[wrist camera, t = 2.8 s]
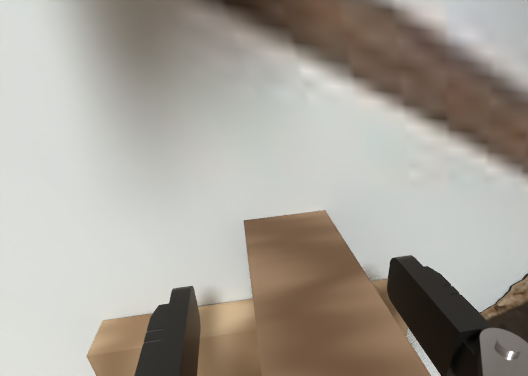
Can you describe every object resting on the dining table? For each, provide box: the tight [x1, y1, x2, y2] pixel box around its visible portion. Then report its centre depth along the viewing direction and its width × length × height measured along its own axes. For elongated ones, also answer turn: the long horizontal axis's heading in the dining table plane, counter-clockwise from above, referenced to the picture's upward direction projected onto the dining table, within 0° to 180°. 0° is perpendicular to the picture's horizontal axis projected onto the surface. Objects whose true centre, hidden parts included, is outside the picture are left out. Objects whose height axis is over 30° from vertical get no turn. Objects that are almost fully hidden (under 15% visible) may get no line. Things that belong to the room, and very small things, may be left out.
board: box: [87, 279, 408, 376], centre depth 17 cm, size 16×9×2 cm, turn 94°
